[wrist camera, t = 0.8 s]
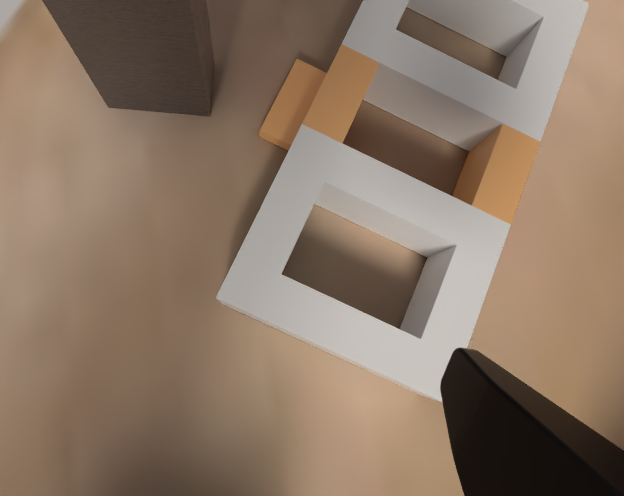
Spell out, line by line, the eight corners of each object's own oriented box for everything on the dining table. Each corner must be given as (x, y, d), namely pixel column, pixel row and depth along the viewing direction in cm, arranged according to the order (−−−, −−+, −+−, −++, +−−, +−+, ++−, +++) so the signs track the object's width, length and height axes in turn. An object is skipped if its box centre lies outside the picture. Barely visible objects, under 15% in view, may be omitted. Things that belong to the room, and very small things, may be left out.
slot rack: (417, 393, 23) (447, 404, 19) (182, 286, 22) (170, 277, 19) (547, 44, 28) (589, 3, 24) (356, -51, 27) (371, -107, 24)
